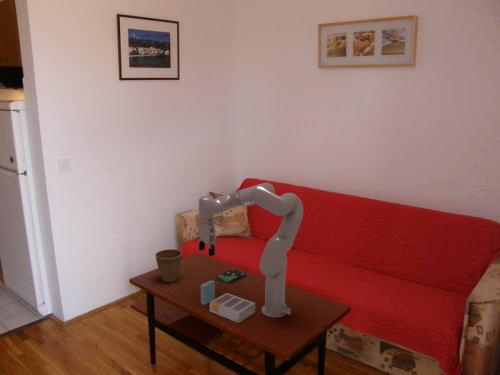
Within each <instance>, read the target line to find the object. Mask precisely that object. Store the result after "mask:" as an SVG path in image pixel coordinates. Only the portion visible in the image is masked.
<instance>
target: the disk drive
mask: <svg viewBox="0 0 500 375" xmlns="http://www.w3.org/2000/svg"><path fill="white" fill-rule="evenodd" d="M246 277H247V273H246V272H243V271H241V270H237V269H236V268H232V269H230V270H227V271H225V272H222V273H220V274H217V275H216V277H215V279H216V280H217V281H218V282H221V283H224V284H227V285H231V284H233V283H236V282H238V281H241V280H243V279H245V278H246ZM216 280H215V281H216Z"/></svg>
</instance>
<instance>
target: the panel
mask: <svg viewBox="0 0 500 375" xmlns="http://www.w3.org/2000/svg"><path fill="white" fill-rule="evenodd" d="M215 299H216V280H215V281H214V280H212V279H211V280H209V281H206V282H204V283H202V284H200V304H201V305H204V306H206V305H208V304H210V302H211V301H213V300H215Z"/></svg>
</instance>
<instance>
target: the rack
mask: <svg viewBox="0 0 500 375" xmlns="http://www.w3.org/2000/svg"><path fill="white" fill-rule="evenodd" d="M209 312H210V313H213V314H214V315H215V314H216V315H218V316H220V317H222V318H225V319H228V320H230V321H232V322H236V323H238V324H240V323H241V322H243V321H245V320H246V319H247V318H249V317H251V316H252V315H254V314H255V313H256V302H254V301H252V300H251V301H250V300H248V299H245V298H243V297H239V296H237V295H233V294H231V293H228V292H226V293H224V294H222V295H220V296H218V297H217V298H216V297H215V300H213V301H211V302H209Z"/></svg>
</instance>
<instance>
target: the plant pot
mask: <svg viewBox="0 0 500 375" xmlns="http://www.w3.org/2000/svg"><path fill="white" fill-rule="evenodd" d="M154 255H155V260H156V264H157V268H158V271H159V273H160V277H161V279H162V280H163V282H164V283H167V282H171V283H174V281H175V282H176V281H177V280H178V277H179V273H180V270H181V265H182V260H183V259H182V258H183V252H182V251H181V250H179V249H174V248H172V249H170V248H169V249H163V250H159V251H157V252H156V253H154Z"/></svg>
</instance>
